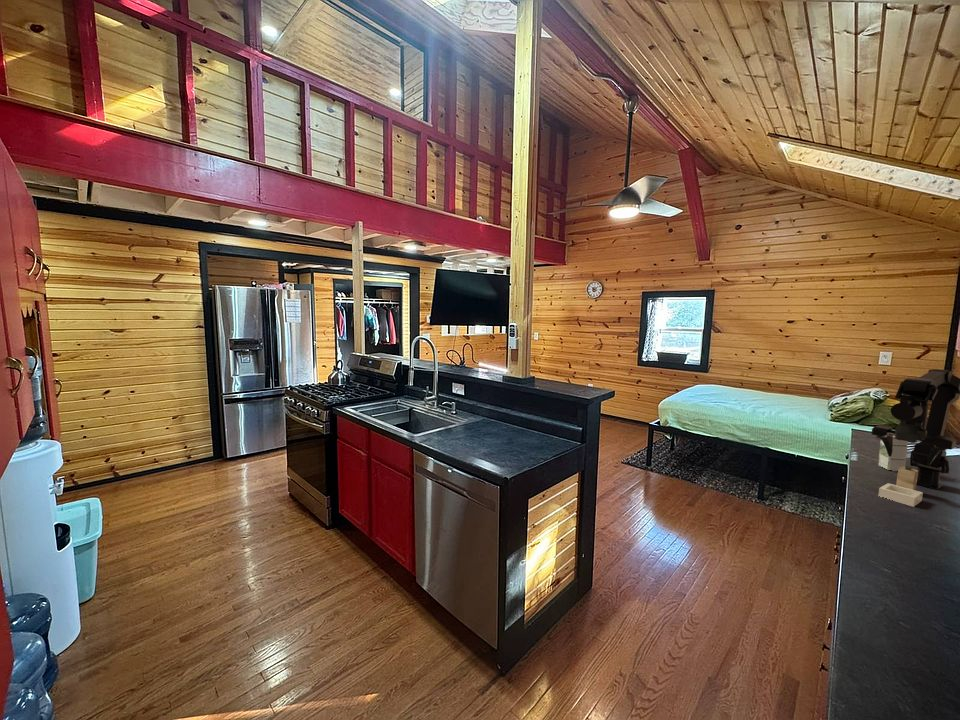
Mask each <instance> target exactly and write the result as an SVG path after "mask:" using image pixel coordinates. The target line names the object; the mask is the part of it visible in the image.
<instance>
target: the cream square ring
mask: <svg viewBox="0 0 960 720" xmlns="http://www.w3.org/2000/svg"><path fill="white" fill-rule="evenodd" d="M923 494H924V493H923V492H922V491H919V490H912V489H908V488H904V487H901V486H897V485H896V484H893V483H889V482H888V483H886V484H884V485H882V486H880V487H879V489H878V494H877V495H878V497H879V496H880V497H879V498H882V497H884V498H883V499H885V498H887V499H886V500H889V499H890V501H892V500H893V502H897V503H900V504H903V505H907V506H909V507H913V508H914V507H916V506H917V505H918V504H920V503H921V502H923V501H922V500H923Z"/></svg>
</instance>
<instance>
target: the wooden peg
mask: <svg viewBox="0 0 960 720" xmlns="http://www.w3.org/2000/svg"><path fill="white" fill-rule="evenodd" d="M912 467H913V466H907V465H905V467H901V468H899V469H898V472H897V475H896V484H895V485H897V486H901V487H904V488H908V489H912V490H916V489H917V485H918V484H917V477H918V470H917V469H913V468H912ZM916 491H917V490H916Z"/></svg>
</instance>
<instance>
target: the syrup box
mask: <svg viewBox="0 0 960 720" xmlns="http://www.w3.org/2000/svg"><path fill="white" fill-rule="evenodd" d="M879 443H880V445H879V453H878V462H877V466H878V467H880V468H882V467H883V469H884V468H885V469H884V470H886V469H887V470H886V471H888V470H892V471H891V472H897V471H898V469H899V468H901V467H905V468H906V461H907V455H908V454H907V453H908V445H909V442H908V441H903V440H897V439H895V436H893V446H892V455H891V457H889V456H888V453H887V450H886V447H885V445H884V443H883V441H882V440H881V439H880V442H879Z"/></svg>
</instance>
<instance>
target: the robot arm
mask: <svg viewBox="0 0 960 720" xmlns="http://www.w3.org/2000/svg"><path fill="white" fill-rule="evenodd" d="M894 398H895V399H896V400H899V403H895V404H893V405H892V407H891V408H890V414H891V415H892V417H893V418H895V419H896V420H899V424H898V425H897V427H896V428H895V430H894V428H893V427H892V426H887V425H882V424H878V425H876V426H873V427H872V428H871V435H873V436H875V438H877V439H879V440H880V441H881V440H882V441H883V443H884V445H885V447H886V450H887V453H888V456H889V457H891V455H892V446H893V436H895V439H897V440H903V441H908V443H911V444H912V443H913V444H914V443H915V445H914V447H913V449H912V450H911V452H910V455H909V456H910V459H909V460H910V461H909V463H910V466H909V467H915V468H916V470H918V477H917V484H916V485H918V486H921V487H922V486H923V487H927V488H929V489H933V490H939V489H940V488H941V487H943V484H941V483H940V480H941V474H950V471H951V470H950V469H951V467H950V461H949V459H948V457H947V450H953V449H954V448H955V447H957V440H956V439H955V438H954V437H950V436H944V434H945V430H946V427H947V423H948V417H949V414H950V409H951V406H952V405H953V404H954V403H955V402H957V401H958V400H959V399H960V377H958V376H956V375H954V374H953V372H952V371H950V370H948V369H938V368H937V369H934V368H932V369H929V370H928V371H927V372H926V373H925V374H923V375H921V376H919V377H908V378H905V379H904V380H903V381H901V382H900V384H899V386H898V389H897V391H896V394H895V396H894ZM929 403H931V404H930V405H929ZM929 406H930V408H929ZM917 441H920V442H919V443H918V442H917ZM916 442H917V443H916Z"/></svg>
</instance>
